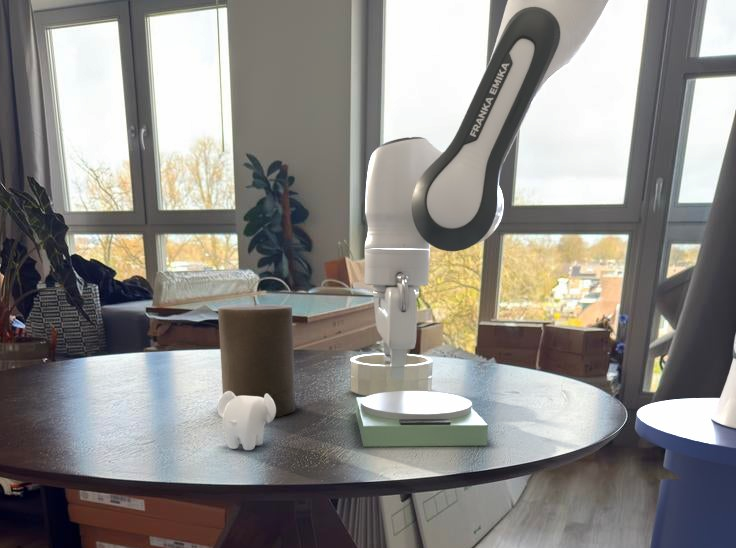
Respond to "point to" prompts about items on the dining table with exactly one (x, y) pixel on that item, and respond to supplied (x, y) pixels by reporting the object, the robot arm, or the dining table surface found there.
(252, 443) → the elephant figurine
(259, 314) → the pillar candle
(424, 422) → the scale
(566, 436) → the dining table surface
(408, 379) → the bowl
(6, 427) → the dining table surface
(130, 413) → the dining table surface
